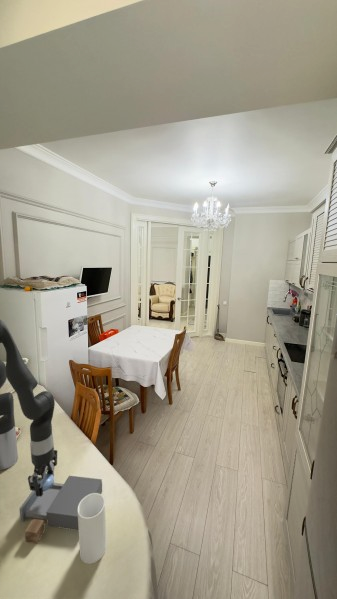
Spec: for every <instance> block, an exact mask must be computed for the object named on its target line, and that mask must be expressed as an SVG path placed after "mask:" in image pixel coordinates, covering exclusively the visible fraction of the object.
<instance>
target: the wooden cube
mask: <svg viewBox="0 0 337 599" xmlns="http://www.w3.org/2000/svg"><path fill="white" fill-rule="evenodd" d="M44 520H45V519H39V518H33V519H31V521H30V523H29V524H28V526H27V527H26V529H25V530H24V534H25V535H24V536H25V542H26V543H32V544H38V543H39V541H40V539H41V538H42V536H43V534H44V532H45V521H44Z"/></svg>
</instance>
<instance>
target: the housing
mask: <svg viewBox="0 0 337 599" xmlns="http://www.w3.org/2000/svg"><path fill="white" fill-rule="evenodd" d="M63 484H64V485H63V486H62V488H61V489H60V491H59V493H58V494H57V496H56V497H55V499H54V501H53V502H52V504H51V505H50V507H49V509H48V510H47V512H46V514H47V519H46V525H47V526H48V527H53V528H58V529H59V528H61V529H65V530H67V529H68V530H73V531H79V527H78V505H79V503H80V501H81V500H82V499H83V498H84V497H85V496H87V495H89V494H92V493H98V494H101V495H102V493H103V479H101V478H93V477H92V478H91V477H86V476H85V477H84V476H74V475H68V477H67V478H66V480H65V482H64V483H63Z"/></svg>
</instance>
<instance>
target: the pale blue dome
mask: <svg viewBox="0 0 337 599" xmlns="http://www.w3.org/2000/svg"><path fill="white" fill-rule="evenodd" d="M54 476H55V475H54ZM54 476H53V475H52V474H45V479H44V480H43V483H42V488H43V491H46V490H48V489H49V488H51V487H52V485H53V484H54V483H55V478H54ZM40 477H42V476H40ZM39 483H40V481H38V484H39Z"/></svg>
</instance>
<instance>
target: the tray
mask: <svg viewBox="0 0 337 599" xmlns="http://www.w3.org/2000/svg"><path fill="white" fill-rule="evenodd" d="M46 474H47V472H46ZM63 485H64V483H60V482H59V483H58V482H54V484H53V485H52V487H51V488H49V489H48V490H46V491H43V495H42V496H41V497H40V496H36V492H35V491H32V490H31V493H30V494H29V495H28V496H27V497H26V499H25V500H24V501H23V503H22V504H21V506H20V507H19V519H20V522H24V521H25V520H26V518H27V517H28V518H33V519H40V520H47V514H46V512H47V510H48V509H49V507H50V505H51V504H52V502H53V501H54V499H55V497H56V496H57V494H58V493H59V491H60V489H61V488H62V486H63Z"/></svg>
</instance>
